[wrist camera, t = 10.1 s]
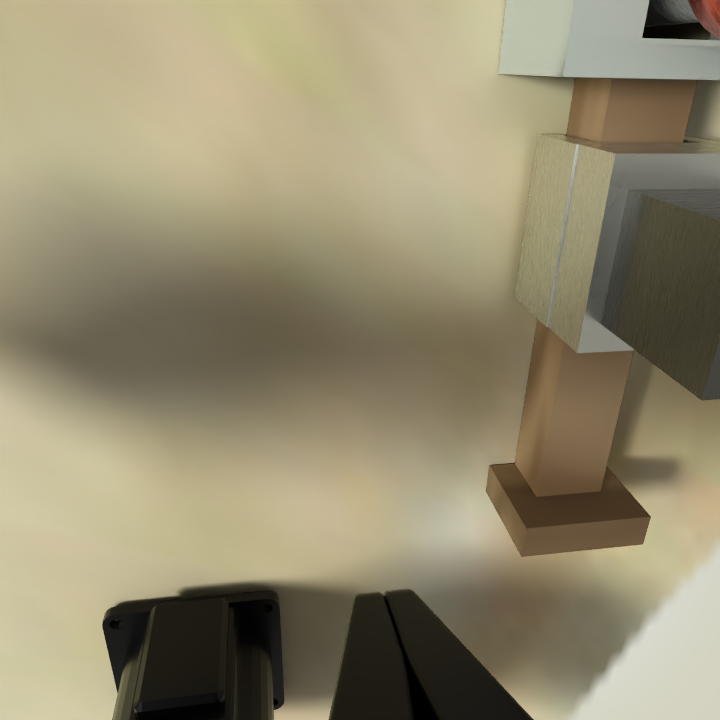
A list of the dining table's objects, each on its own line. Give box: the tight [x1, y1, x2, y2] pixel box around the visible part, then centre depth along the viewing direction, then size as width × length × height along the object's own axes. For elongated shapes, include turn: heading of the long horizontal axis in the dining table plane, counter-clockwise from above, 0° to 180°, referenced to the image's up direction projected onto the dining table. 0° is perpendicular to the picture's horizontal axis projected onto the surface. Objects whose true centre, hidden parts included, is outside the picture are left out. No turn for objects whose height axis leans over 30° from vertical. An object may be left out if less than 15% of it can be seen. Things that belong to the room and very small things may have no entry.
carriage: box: [515, 134, 720, 400], centre depth 15 cm, size 5×4×8 cm
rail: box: [486, 77, 697, 557], centre depth 19 cm, size 14×4×4 cm, turn 179°
